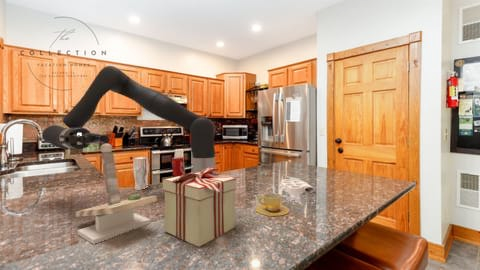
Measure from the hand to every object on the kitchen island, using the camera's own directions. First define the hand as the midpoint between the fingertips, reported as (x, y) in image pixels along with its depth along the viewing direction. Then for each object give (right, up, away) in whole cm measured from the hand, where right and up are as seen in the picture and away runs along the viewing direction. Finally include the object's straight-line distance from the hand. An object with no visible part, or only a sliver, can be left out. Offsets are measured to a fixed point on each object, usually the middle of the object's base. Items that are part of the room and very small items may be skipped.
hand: (97, 139), depth 74 cm
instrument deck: (+9, -21, -5) cm, 23 cm away
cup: (+57, -26, +9) cm, 63 cm away
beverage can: (+15, -25, +40) cm, 50 cm away
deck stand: (+9, -26, -5) cm, 28 cm away
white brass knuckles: (+71, -25, +35) cm, 83 cm away
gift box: (+35, -26, -7) cm, 45 cm away
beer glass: (-3, -25, +39) cm, 47 cm away
